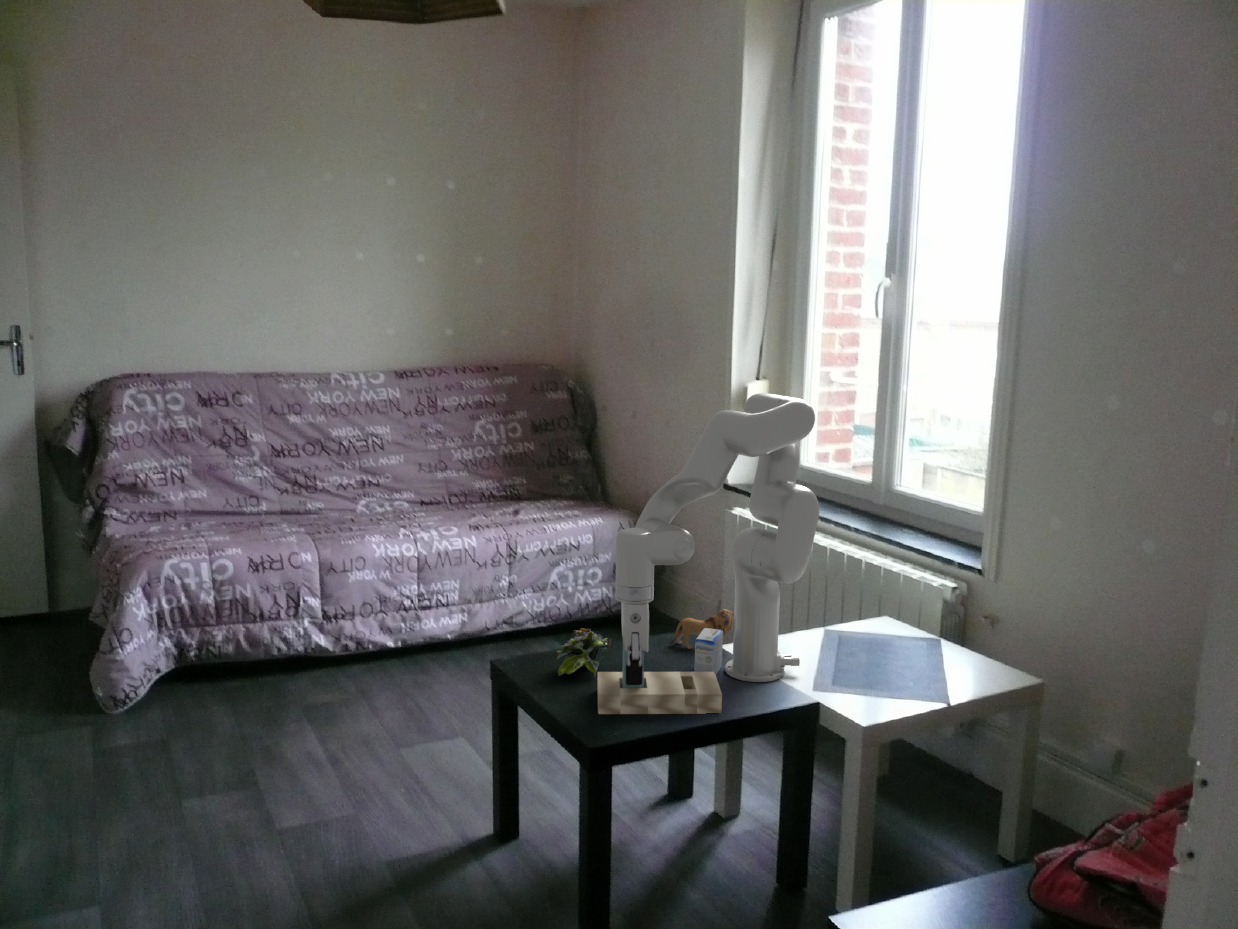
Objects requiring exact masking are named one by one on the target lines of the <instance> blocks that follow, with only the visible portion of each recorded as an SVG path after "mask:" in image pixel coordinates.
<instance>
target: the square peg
mask: <svg viewBox="0 0 1238 929" xmlns="http://www.w3.org/2000/svg"><path fill="white" fill-rule="evenodd" d="M638 648H639V647H638ZM629 650H632V647H630V649H629ZM630 656H632V654H630ZM644 662H645V651H643V649H642V655H641V665H642V684H641V685H627V684H626V665H627V652H626V651H625V650H624V644H623V643H622V671H621V672H622V688H643V681H644V672H645V671H644V670H645V667H644V666H645V663H644Z"/></svg>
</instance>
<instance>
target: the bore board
mask: <svg viewBox="0 0 1238 929" xmlns="http://www.w3.org/2000/svg"><path fill="white" fill-rule="evenodd" d="M622 672H623V671H597V677H596V678H597V679H596V680H597V681H596V682H597V687H596V688H597V689H596V690H597V713H598V715H673V714H674V715H682V714H683V715H690V714H691V715H694V714H698V715H699V714H700V715H701V714H702V715H703V714H705V715H706V713H719V714H720V715H721V714H722V710H723V708H722V704H723V693H722V690H721V687H720V684H719V682H718V678H717V675H715V672H694V671H644V681H643V688H622ZM719 714H718V715H719Z"/></svg>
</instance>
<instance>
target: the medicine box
mask: <svg viewBox="0 0 1238 929" xmlns="http://www.w3.org/2000/svg"><path fill="white" fill-rule="evenodd" d="M694 640H695V642H694V668H693V670H694V671H693V672H715V675H716V676H717V675H718V673H719V671H720V670H721V668H722V666H723V664H722V663H723V645H724V636H723V631H722V630H717V629H710V628H704V629H703V630H702V632H701V633H700V634H699V635H697V637H696V639H694Z"/></svg>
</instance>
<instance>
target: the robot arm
mask: <svg viewBox="0 0 1238 929" xmlns="http://www.w3.org/2000/svg"><path fill="white" fill-rule="evenodd" d="M815 422H816V414H815V410H814V408H813V406H812V405H811V404H810V403H809V402H808V401H806V400H804V399H802V398H799V397H791V396H787V395H781V394H775V393H765V392H760V393H756V394H755V393H754V394H752V395H751V396H749V397H748V398H747V399H746V401H745V404H744V407H743V411H739V410H731V409H724V410H719V411H717V412H715V413H714V414H713V415H712V416H711V417H710V419H709V421H708V422H707V424H706V426H705V428H704V430H703V432H702V433H701V435H700V437H699V439H698V441H696V444H695V446H694V449H693V450H692V452H691V454H690V455H689V458H688V459H687V461H686V463H685V465H684V466H683V468H682V470H681V471H680V472H678V474H676V475H674V476H673V477H672V478H671V479H670V480H668V481H667V482H665V484H663V485H662V486H661V487H660V488H659V489H658V490H657V491H655V493H654V494H653V495H652V496H651V497H650V498H649V500H648V501H647V503H646V504H645V506H644V508H643V510H642V512H641V514H640V515H639V517H638V519H637V521H636V524H635V526H634V527H626V528H624V529H621V530H619V531H618V532H617V534H616V537H615V600H616V601H617V602H619V603H620V604H621V608H620V609H621V610H620V611H621V617H620V618H621V619H620V620H621V636H622V645H623V644H624V650H625V651H626V652H627V665H626V684H627V685H641V684H642V665H641V655H642V649H643V651H644V652H645V653H648V652H649V651H650V610H649V608H650V606H649V603H651V602H652V601H654V596H655V595H654V593H655V592H654V591H655V587H654V586H655V566H678V565H679V566H680V565H681V564H684V563H686V562H688V561H689V560H690V559H691V558H692V557H693V555H694V554H695V550H696V542H695V538H694V537H693V535H692V534H691V533H690V531H687V530H686V529H685V528H682V527H679V526H677V525H674V524H672V521H673V520H674V518H675V517H676V516H677V514H678V513H679V512H680V511H681V510H682V509H684V508H685V507H686V506H687V505H689V504H690V503H692V502H693V503H694V502H695V501H699V500H701V499H703V498H707V497H710V496H713V495H715V494H716V493H718V492H720V490H721V489H722V487H723V484H725V480H727V477H728V476H729V474H730V472H731V470H732V468H733V466H734V464H735V462H736V461H737V459H738V457H739V455H740V456H744V457H750V458H755V457H757V458H758V462H757V465H756V466H757V467H756V471H755V474H754V479H753V483H752V484H753V485H752V488H751V492H750V498H749V502H748V508H749V512H750V514H751V515H752V516H753V517H754V519H756V520H758V521H760V522H763V523H765V524H768V525H771V526H775V527H777V530H776V532H775V531H771V530H769V529H767V528H766V529H765V528H763V527H753V526H752V527H747V528H744V529H742V530H741V531H739V532H738V533H737V534H736V536H735V537H734V539H733V541H732V545H731V549H730V550H731V551H730V552H731V561H732V568H733V574H734V603H733V604H734V607H733V609H734V612H733V619H734V620H733V621H734V623H733V640H732V643H733V644H732V659H730V660H729V661H727V662H725V665H724V667H725V668H724V670H725V672H726V674H727V675H728V676H730V677H732V678H734V679H736V680H739V681H742V682H743V681H744V682H751V683H767V682H774V681H776V680H779V679H781V678H782V677H783V676H784V675H785V668H786V666H790V667H799V666H800V665H801V663H800V657H799V656H792V654H791V653H785V654H783V653H782V654H781V653H780V651H779V647H778V646H779V628H780V627H779V624H780V623H779V622H780V603H781V600H780V599H781V593H780V592H781V591H780V585H779V583H780V584H787V585H789V584H793V583H796V582H797V581H799V579H800V578H801V577H802V576H803V575H804V574H805V571H806V569H807V566H808V565H809V564H808V563H809V561H810V557H811V552H812V548H813V545H814V544H813V543H814V539H815V535H816V531H817V526H818V523H819V516H820V504H819V500H818V498H817V495H816V494H815V492H814V491H812V490H811V489H810V488H808V487H807V486H804V485H801V484H798V483H797V477H798V473H799V472H798V471H799V466H800V460H801V459H800V457H801V456H800V448H799V444H798V442H800V441H802V440H803V439H805V438H806V437H807V436H808V435H810V432H811V431H812V430H813V428H814V426H815ZM630 647H632V650H629V649H630ZM638 647H639V648H638ZM630 654H632V656H630Z"/></svg>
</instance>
